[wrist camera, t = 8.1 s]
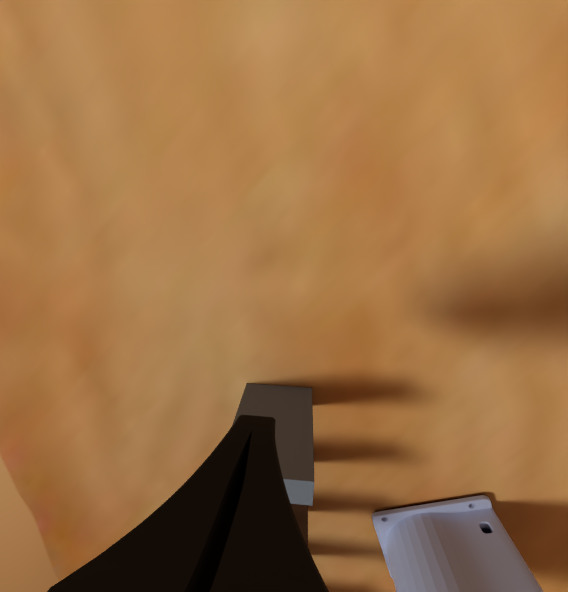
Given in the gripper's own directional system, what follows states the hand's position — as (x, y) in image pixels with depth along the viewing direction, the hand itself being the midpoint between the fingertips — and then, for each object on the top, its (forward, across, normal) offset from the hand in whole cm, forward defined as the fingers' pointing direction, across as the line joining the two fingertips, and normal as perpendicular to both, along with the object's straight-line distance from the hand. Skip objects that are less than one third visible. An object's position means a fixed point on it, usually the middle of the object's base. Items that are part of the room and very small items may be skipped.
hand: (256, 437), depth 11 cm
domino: (+10, 0, +6) cm, 12 cm away
